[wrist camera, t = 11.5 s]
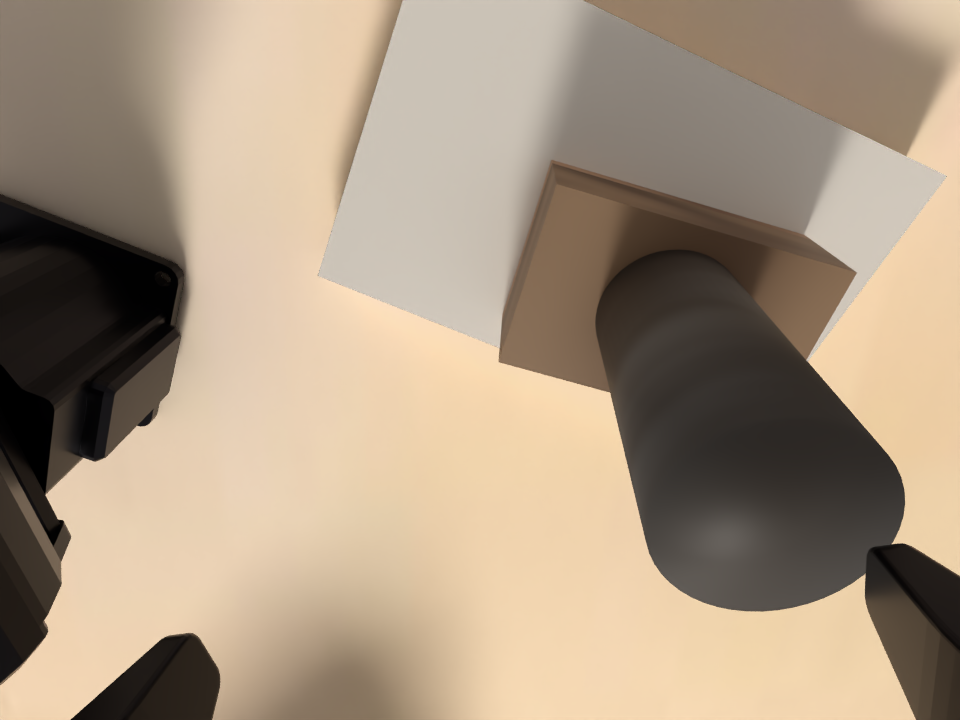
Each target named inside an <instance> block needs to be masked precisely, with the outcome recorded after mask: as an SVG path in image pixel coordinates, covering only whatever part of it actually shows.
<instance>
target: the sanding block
mask: <svg viewBox="0 0 960 720" xmlns="http://www.w3.org/2000/svg"><path fill="white" fill-rule="evenodd" d="M856 274H857V272H856V271H854V270H853V269H851V268H850V267H849V266H847V265H846V264H844V263H843V262H842V261H840V260H839V259H837V258H836V257H835V256H833V255H832V254H831V253H829V252H828V251H826V250H825V249H824V248H822V247H821V246H819V245H818V244H817V243H815V242H814V241H812V240H811V239H810V238H808V237H807V236H805V235H803V234H800V233H797V232H793V231H790V230H786V229H783V228H780V227H776V226H773V225H770V224H766V223H763V222H760V221H756V220H753V219H749V218H746V217H743V216H739V215H736V214H733V213H729V212H726V211H723V210H719V209H716V208H712V207H709V206H706V205H702V204H699V203H696V202H692V201H689V200H686V199H682V198H679V197H675V196H672V195H669V194H665V193H662V192H659V191H655V190H652V189H649V188H645V187H642V186H638V185H635V184H632V183H628V182H625V181H622V180H618V179H615V178H612V177H608V176H605V175H601V174H598V173H595V172H591V171H588V170H585V169H581V168H578V167H575V166H571V165H568V164H564V163H561V162H558V161H554V160H551V163H550V166H549V169H548V172H547V175H546V178H545V182H544V185H543V188H542V191H541V194H540V197H539V200H538V204H537V207H536V210H535V213H534V216H533V219H532V223H531V226H530V229H529V232H528V235H527V238H526V241H525V245H524V248H523V251H522V254H521V257H520V260H519V264H518V267H517V270H516V273H515V276H514V279H513V282H512V286H511V289H510V292H509V295H508V298H507V301H506V305H505V308H504V311H503V314H502V325H501V338H500V351H499V362H500V363H504V364H508V365H511V366H515V367H519V368H522V369H526V370H530V371H533V372H537V373H541V374H544V375H548V376H552V377H555V378H559V379H563V380H566V381H570V382H574V383H577V384H581V385H585V386H588V387H592V388H596V389H599V390H603V391H607V392H610V393H611V398H612V402H613V406H614V410H615V414H616V418H617V423H618V427H619V431H620V435H621V439H622V443H623V448H624V452H625V456H626V460H627V464H628V468H629V473H630V477H631V481H632V485H633V489H634V493H635V498H636V502H637V506H638V510H639V514H640V518H641V523H642V527H643V531H644V535H645V539H646V543H647V547H648V550H649V554H650V556H651V558H652V560H653V562H654V564H655V565H656V567H657V568H658V570H659V571H660V572H661V574H662V575H663V576H664V577H665V578H666V579H667V580H668V581H669V582H670V583H671V584H672V585H674V586H675V587H676V588H677V589H679V590H680V591H682V592H683V593H685V594H687V595H689V596H690V597H692V598H694V599H697V600H699V601H701V602H704V603H707V604H710V605H713V606H716V607H721V608H726V609H731V610H740V611H772V610H781V609H787V608H793V607H797V606H801V605H805V604H808V603H811V602H814V601H817V600H820V599H822V598H825V597H827V596H829V595H831V594H834V593H836V592H838V591H840V590H841V589H843V588H845V587H847V586H848V585H850V584H852V583H853V582H855V581H856V580H857V579H859V578H860V577H861V576H863V575H864V574H865V573H866V557H867V552H868V551H869V549H870V548H872V547H876V546H884V545H891V544H892V543H893V541H894V539H895V537H896V535H897V533H898V531H899V528H900V525H901V522H902V519H903V515H904V507H905V494H904V487H903V483H902V479H901V476H900V474H899V472H898V470H897V467H896V465H895V464H894V463H893V461H892V460H891V458H890V457H889V455H888V454H887V453H886V452H885V451H884V450H883V448H882V447H881V446H880V445H879V444H878V443H877V441H876V440H875V439H874V438H873V437H872V436H871V434H870V433H869V432H868V431H867V430H866V429H865V428H864V426H863V425H862V424H861V423H860V422H859V421H858V419H857V418H856V417H855V416H854V415H853V414H852V412H851V411H850V410H849V409H848V408H847V407H846V406H845V404H844V403H843V402H842V401H841V400H840V399H839V397H838V396H837V395H836V394H835V393H834V392H833V391H832V389H831V388H830V387H829V386H828V385H827V384H826V382H825V381H824V380H823V379H822V378H821V377H820V375H819V374H818V373H817V372H816V371H815V370H814V369H813V367H812V366H811V365H810V364H809V363H808V362H807V358H808V356H809V355H810V353H811V351H812V349H813V348H814V346H815V344H816V343H817V341H818V339H819V337H820V336H821V334H822V332H823V331H824V329H825V327H826V325H827V324H828V322H829V320H830V319H831V317H832V315H833V313H834V312H835V310H836V308H837V307H838V305H839V303H840V301H841V300H842V298H843V296H844V295H845V293H846V291H847V289H848V288H849V286H850V284H851V283H852V281H853V279H854V277H855V276H856Z"/></svg>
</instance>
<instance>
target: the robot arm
mask: <svg viewBox="0 0 960 720" xmlns="http://www.w3.org/2000/svg"><path fill="white" fill-rule="evenodd" d="M161 272H165V273H166V274H168V275H169V277H170V279H171V282H167V281H165V280H164V279H163V278H162V276H161ZM183 284H184V274H183V271H182V269H181V268H180V267H179V266H178V265H177V264H176V263H174V262H172V261H170V260H167V259H165V258H162V257H160V256H157V255H154V254H152V253H149V252H147V251H144V250H142V249H139V248H137V247H134V246H131V245H129V244H126V243H124V242H121V241H119V240H116V239H113V238H111V237H108V236H106V235H103V234H101V233H98V232H95V231H93V230H90V229H88V228H85V227H83V226H80V225H78V224H75V223H72V222H70V221H67V220H65V219H62V218H60V217H57V216H54V215H52V214H49V213H47V212H44V211H42V210H39V209H36V208H34V207H31V206H29V205H26V204H24V203H21V202H19V201H16V200H13V199H11V198H8V197H6V196H3V195H1V194H0V685H1V684H3V683H4V682H5V681H6V680H7V679H8V678H9V677H10V676H12V675H13V674H14V673H15V672H16V671H17V670H18V669H19V668H20V667H21V666H22V665H23V664H24V663H25V662H26V660H27V659H28V658H29V657H30V656H31V654H32V653H33V652H34V651H35V650H36V649H37V647H38V646H39V645H40V644H41V642H42V641H43V640H44V638H45V637H46V635H47V633H48V627H47V625H46V623H45V621H44V620H45V618H46V617H47V615H48V613H49V611H50V609H51V607H52V604H53V602H54V600H55V598H56V596H57V593H58V591H59V589H60V587H61V584H62V582H61V561H62V559H63V556H64V554H65V551H66V549H67V546H68V544H69V541H70V539H71V535H70V533H69V531H68V529H67V527H66V525H65V523H64V521H63V520H58V519H57V517H56V515H55V513H54V511H53V509H52V507H51V505H50V503H49V501H48V499H47V497H46V496H45V495H46V494H47V493H48V492H49V491H50V490H51V489H52V488H53V487H54V486H55V485H56V484H57V483H58V482H59V481H60V480H61V479H62V478H63V477H64V476H65V475H66V474H67V473H68V472H69V471H70V470H71V469H72V468H73V467H74V466H75V465H76V464H78V463H79V462H80V461H81V460H82V459H83V458H86V459H89V460H92V461H95V462H96V461H99V460H101V459H103V458H106V457H107V456H108V455H109V454H110V453H111V452H112V451H113V450H114V449H115V448H116V446H117V445H118V444H119V443H120V442H121V441H122V440H123V439H124V438H125V437H126V436H127V435H128V434H129V433H130V432H131V431H132V430H133V429H134V428H135V427H136V426H146V425H148V424H149V423H150V422H151V421H152V420H153V419H154V418H155V417H156V415H157V412H158V408H159V403H160V401H161V400H162V399H163V398H164V397H165V396H166V395H167V394H168V393H169V391H170V386H171V381H172V377H173V372H174V367H175V362H176V358H177V353H178V348H179V343H180V339H181V335H180V332H179V330H178V328H177V327H175V324H176V319H177V314H178V309H179V304H180V299H181V294H182V289H183ZM865 600H866V605H867V609H868V612H869V614H870V617H871V619H872V622H873V624H874V626H875V628H876V631H877V633H878V635H879V637H880V640H881V642H882V644H883V646H884V649H885V651H886V653H887V655H888V658H889V660H890V662H891V664H892V667H893V669H894V671H895V673H896V676H897V678H898V680H899V682H900V685H901V687H902V689H903V691H904V694H905V696H906V698H907V700H908V703H909V705H910V707H911V709H912V712H913V714H914V716H915V718H916V720H960V576H959V575H957V574H956V573H954V572H952V571H951V570H949V569H948V568H946V567H944V566H943V565H941V564H940V563H938V562H936V561H935V560H933V559H931V558H930V557H928V556H927V555H925V554H923V553H922V552H920V551H919V550H917V549H915V548H914V547H912V546H909V545H907V544H892V545H884V546H876V547H872V548H870V549H869V551H868V552H867V557H866V579H865ZM219 689H220V673H219V669H218V667H217V666H216V664H215V662H214V661H213V659H212V658H211V656H210V654H209V653H208V651H207V649H206V648H205V646H204V645H203V643H202V641H201V640H200V638H199V637H198V636H197V635H195V634H193V633H185V634H177V635H170V636H167V637H165V638H163V639H161V640H160V641H159V642H158V643H157V644H156V645H154V646H153V647H152V648H151V649H150V650H149V651H148V652H147V653H145V654H144V655H143V656H142V657H141V658H140V659H139V660H137V661H136V662H135V663H134V664H133V665H132V666H131V667H130V668H128V669H127V670H126V671H125V672H124V673H123V674H122V675H121V676H119V677H118V678H117V679H116V680H115V681H114V682H113V683H112V684H110V685H109V686H108V687H107V688H106V689H105V690H104V691H103V692H101V693H100V694H99V695H98V696H97V697H96V698H95V699H93V700H92V701H91V702H90V703H89V704H88V705H87V706H86V707H84V708H83V709H82V710H81V711H80V712H79V713H78V714H77V715H75V716H74V717H73V718H72V719H71V720H212V718H213V714H214V710H215V706H216V702H217V697H218V693H219Z"/></svg>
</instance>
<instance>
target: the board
mask: <svg viewBox="0 0 960 720" xmlns="http://www.w3.org/2000/svg"><path fill="white" fill-rule="evenodd" d="M551 160H554V161H558V162H561V163H564V164H568V165H571V166H575V167H578V168H581V169H585V170H588V171H591V172H595V173H598V174H601V175H605V176H608V177H612V178H615V179H618V180H622V181H625V182H628V183H632V184H635V185H638V186H642V187H645V188H649V189H652V190H655V191H659V192H662V193H665V194H669V195H672V196H675V197H679V198H682V199H686V200H689V201H692V202H696V203H699V204H702V205H706V206H709V207H712V208H716V209H719V210H723V211H726V212H729V213H733V214H736V215H739V216H743V217H746V218H749V219H753V220H756V221H760V222H763V223H766V224H770V225H773V226H776V227H780V228H783V229H786V230H790V231H793V232H797V233H800V234H803V235H805V236H807V237H808V238H810V239H811V240H812V241H814V242H815V243H817V244H818V245H819V246H821V247H822V248H824V249H825V250H826V251H828V252H829V253H831V254H832V255H833V256H835V257H836V258H837V259H839V260H840V261H842V262H843V263H844V264H846V265H847V266H849V267H850V268H851V269H853V270H854V271H856V272H857V274H856V276H855V277H854V279H853V281H852V283H851V284H850V286H849V288H848V289H847V291H846V293H845V295H844V296H843V298H842V300H841V301H840V303H839V305H838V307H837V308H836V310H835V312H834V313H833V315H832V317H831V319H830V320H829V322H828V324H827V325H826V327H825V329H824V331H823V332H822V334H821V336H820V337H819V339H818V341H817V343H816V344H815V346H814V348H813V349H812V351H811V353H810V355H809V356H808V358H807V362H808V361H809V359H810V358H811V357H812V355H813V354H814V353H815V351H816V350H817V349H818V347H819V346H820V345H821V343H822V342H823V341H824V339H825V338H826V337H827V335H828V334H829V333H830V331H831V330H832V329H833V327H834V326H835V325H836V323H837V322H838V321H839V319H840V318H841V317H842V315H843V314H844V313H845V311H846V310H847V309H848V307H849V306H850V305H851V303H852V302H853V301H854V299H855V298H856V297H857V295H858V294H859V293H860V291H861V290H862V289H863V287H864V286H865V285H866V283H867V282H868V281H869V279H870V278H871V277H872V275H873V274H874V273H875V271H876V270H877V269H878V267H879V266H880V265H881V263H882V262H883V261H884V259H885V258H886V257H887V255H888V254H889V253H890V251H891V250H892V249H893V247H894V246H895V245H896V243H897V242H898V241H899V239H900V238H901V237H902V235H903V234H904V233H905V231H906V230H907V229H908V227H909V226H910V225H911V223H912V222H913V221H914V219H915V218H916V217H917V215H918V214H919V213H920V211H921V210H922V209H923V207H924V206H925V205H926V203H927V202H928V201H929V199H930V198H931V197H932V195H933V194H934V193H935V192H936V190H937V189H938V188H939V186H940V185H941V184H942V182H943V181H944V180H945V178H946V177H947V176H946V175H944V174H942V173H940V172H938V171H936V170H933V169H931V168H929V167H927V166H925V165H923V164H921V163H919V162H917V161H915V160H913V159H911V158H909V157H907V156H904V155H902V154H900V153H898V152H896V151H894V150H892V149H890V148H888V147H886V146H884V145H882V144H880V143H878V142H876V141H873V140H871V139H869V138H867V137H865V136H863V135H861V134H859V133H857V132H855V131H853V130H851V129H849V128H847V127H844V126H842V125H840V124H838V123H836V122H834V121H832V120H830V119H828V118H826V117H824V116H822V115H820V114H818V113H815V112H813V111H811V110H809V109H807V108H805V107H803V106H801V105H799V104H797V103H795V102H793V101H791V100H789V99H787V98H784V97H782V96H780V95H778V94H776V93H774V92H772V91H770V90H768V89H766V88H764V87H762V86H760V85H758V84H755V83H753V82H751V81H749V80H747V79H745V78H743V77H741V76H739V75H737V74H735V73H733V72H731V71H729V70H726V69H724V68H722V67H720V66H718V65H716V64H714V63H712V62H710V61H708V60H706V59H704V58H702V57H700V56H698V55H695V54H693V53H691V52H689V51H687V50H685V49H683V48H681V47H679V46H677V45H675V44H673V43H671V42H669V41H666V40H664V39H662V38H660V37H658V36H656V35H654V34H652V33H650V32H648V31H646V30H644V29H642V28H640V27H637V26H635V25H633V24H631V23H629V22H627V21H625V20H623V19H621V18H619V17H617V16H615V15H613V14H611V13H609V12H606V11H604V10H602V9H600V8H598V7H596V6H594V5H592V4H590V3H588V2H586V1H584V0H403V1H402V5H401V8H400V11H399V14H398V18H397V21H396V24H395V27H394V31H393V34H392V37H391V40H390V43H389V47H388V50H387V53H386V56H385V60H384V63H383V66H382V69H381V73H380V76H379V79H378V82H377V86H376V89H375V92H374V95H373V99H372V102H371V105H370V108H369V111H368V115H367V118H366V121H365V124H364V128H363V131H362V134H361V137H360V141H359V144H358V147H357V150H356V154H355V157H354V160H353V163H352V167H351V170H350V173H349V176H348V180H347V183H346V186H345V189H344V192H343V196H342V199H341V202H340V205H339V209H338V212H337V215H336V218H335V222H334V225H333V228H332V231H331V235H330V238H329V241H328V244H327V248H326V251H325V254H324V257H323V260H322V264H321V267H320V270H319V273H318V276H320V277H322V278H325V279H327V280H330V281H332V282H335V283H337V284H340V285H342V286H345V287H347V288H350V289H352V290H355V291H357V292H360V293H362V294H365V295H367V296H370V297H372V298H375V299H377V300H380V301H382V302H385V303H387V304H390V305H392V306H395V307H397V308H400V309H402V310H405V311H407V312H410V313H413V314H415V315H418V316H420V317H423V318H425V319H428V320H430V321H433V322H435V323H438V324H440V325H443V326H445V327H448V328H450V329H453V330H455V331H458V332H460V333H463V334H465V335H468V336H470V337H473V338H475V339H478V340H480V341H483V342H485V343H488V344H490V345H493V346H495V347H498V348H500V338H501V325H502V314H503V311H504V308H505V305H506V301H507V298H508V295H509V292H510V289H511V286H512V282H513V279H514V276H515V273H516V270H517V267H518V264H519V260H520V257H521V254H522V251H523V248H524V245H525V241H526V238H527V235H528V232H529V229H530V226H531V223H532V219H533V216H534V213H535V210H536V207H537V204H538V200H539V197H540V194H541V191H542V188H543V185H544V182H545V178H546V175H547V172H548V169H549V166H550V163H551Z"/></svg>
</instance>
